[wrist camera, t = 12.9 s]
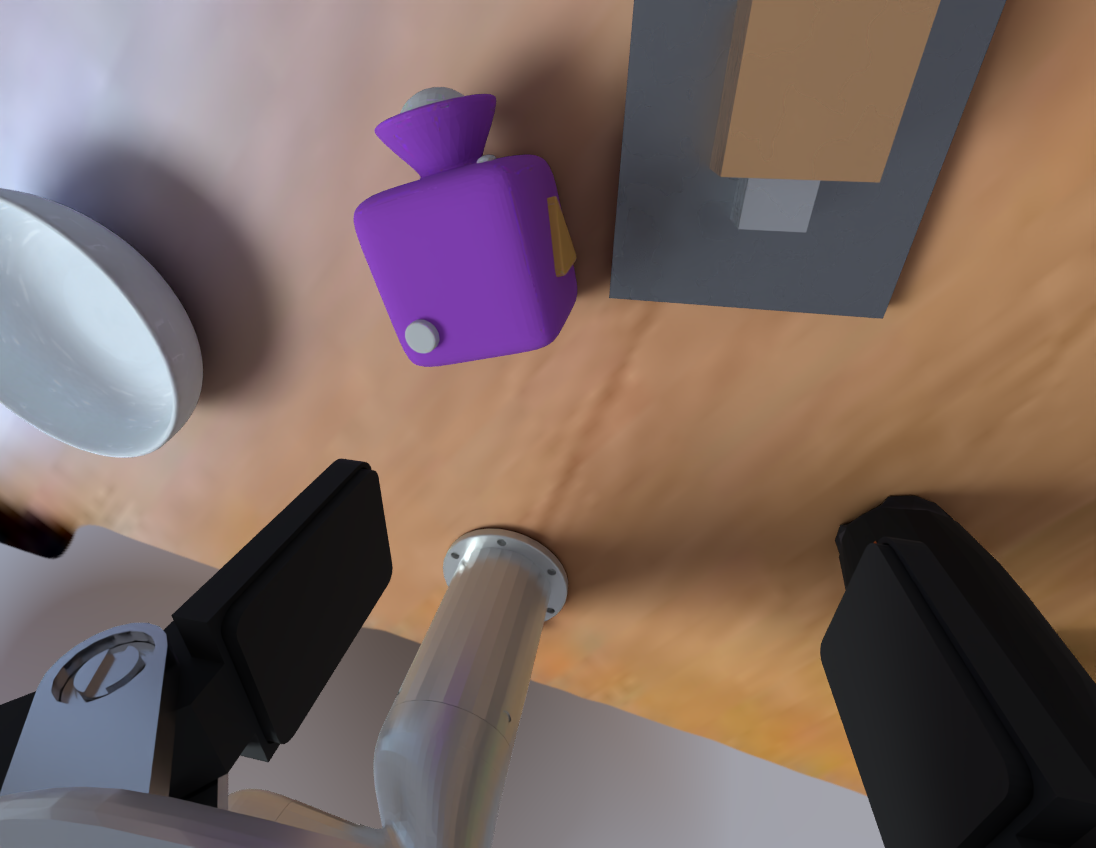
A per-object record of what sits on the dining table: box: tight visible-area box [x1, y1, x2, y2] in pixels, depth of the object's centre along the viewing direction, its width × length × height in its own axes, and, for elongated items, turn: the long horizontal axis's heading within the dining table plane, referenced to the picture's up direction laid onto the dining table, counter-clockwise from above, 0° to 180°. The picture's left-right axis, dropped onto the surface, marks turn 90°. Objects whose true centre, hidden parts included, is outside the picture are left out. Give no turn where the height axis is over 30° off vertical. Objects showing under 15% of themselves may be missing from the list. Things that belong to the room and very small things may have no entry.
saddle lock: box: [710, 0, 941, 183], centre depth 21 cm, size 7×6×6 cm
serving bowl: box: [0, 188, 203, 458], centre depth 39 cm, size 21×21×7 cm
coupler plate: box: [609, 0, 1006, 319], centre depth 22 cm, size 22×16×8 cm
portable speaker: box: [835, 496, 1096, 779], centre depth 29 cm, size 9×9×20 cm
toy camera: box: [354, 87, 577, 367], centre depth 27 cm, size 11×14×10 cm
